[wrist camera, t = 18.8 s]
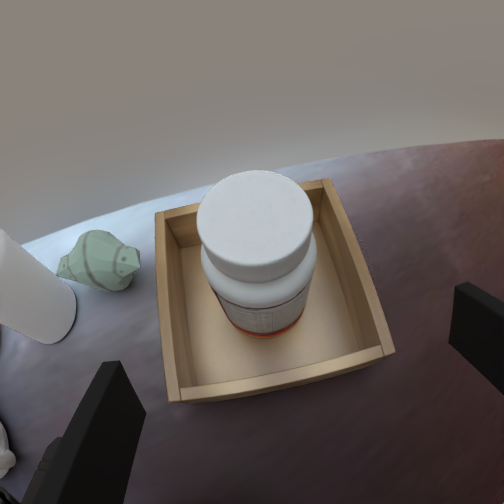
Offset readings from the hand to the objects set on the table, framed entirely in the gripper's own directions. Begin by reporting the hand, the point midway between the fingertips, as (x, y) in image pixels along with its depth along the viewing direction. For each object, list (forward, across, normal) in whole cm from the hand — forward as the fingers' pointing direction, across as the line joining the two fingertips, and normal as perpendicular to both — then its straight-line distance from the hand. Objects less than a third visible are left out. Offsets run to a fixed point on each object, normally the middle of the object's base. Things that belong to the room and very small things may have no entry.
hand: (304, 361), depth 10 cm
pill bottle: (+12, -1, -3) cm, 13 cm away
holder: (+13, -1, -4) cm, 14 cm away
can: (+15, -21, -2) cm, 26 cm away
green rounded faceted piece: (+16, -13, -1) cm, 21 cm away
